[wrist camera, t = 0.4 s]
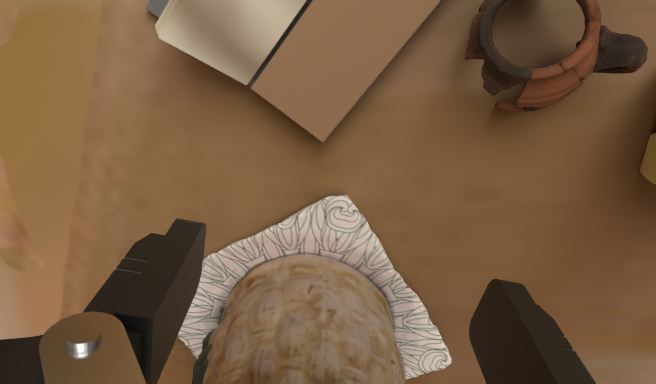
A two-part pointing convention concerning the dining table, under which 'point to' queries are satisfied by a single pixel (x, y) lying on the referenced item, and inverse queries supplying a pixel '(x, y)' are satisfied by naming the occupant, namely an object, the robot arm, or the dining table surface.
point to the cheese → (650, 160)
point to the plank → (227, 31)
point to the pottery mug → (558, 79)
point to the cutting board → (332, 56)
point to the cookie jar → (309, 308)
